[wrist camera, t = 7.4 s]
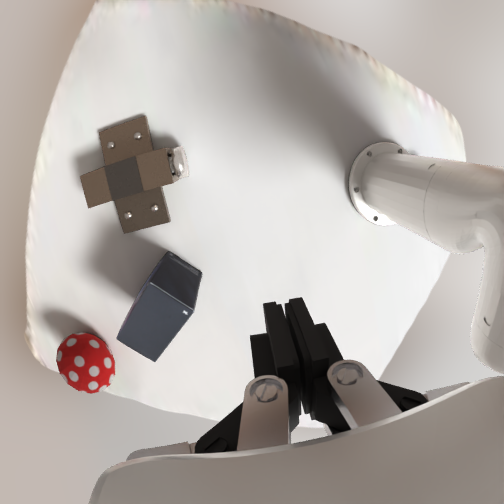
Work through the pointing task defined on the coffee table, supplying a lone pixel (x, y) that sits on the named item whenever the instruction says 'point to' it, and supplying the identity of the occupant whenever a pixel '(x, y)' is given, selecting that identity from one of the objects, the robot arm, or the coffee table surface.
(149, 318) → the small box
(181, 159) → the hinge pin
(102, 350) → the decorative mushroom
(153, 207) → the hinge
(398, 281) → the coffee table surface
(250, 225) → the coffee table surface
